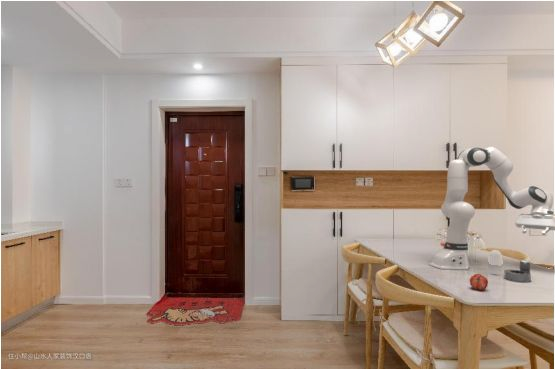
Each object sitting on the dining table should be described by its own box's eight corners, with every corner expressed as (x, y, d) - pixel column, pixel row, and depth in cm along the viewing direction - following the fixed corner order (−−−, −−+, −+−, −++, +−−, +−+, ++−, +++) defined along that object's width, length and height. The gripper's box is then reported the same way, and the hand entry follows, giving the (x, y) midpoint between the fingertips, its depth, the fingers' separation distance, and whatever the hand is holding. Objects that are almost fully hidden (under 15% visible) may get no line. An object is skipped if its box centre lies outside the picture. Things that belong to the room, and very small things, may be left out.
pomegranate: (469, 291, 174) (465, 281, 168) (474, 277, 177) (470, 268, 171) (486, 296, 169) (482, 286, 163) (491, 282, 172) (487, 272, 166)
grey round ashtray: (516, 282, 182) (516, 274, 182) (499, 277, 192) (499, 269, 192) (535, 282, 183) (535, 274, 183) (518, 276, 194) (518, 269, 194)
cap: (524, 277, 192) (524, 262, 192) (517, 275, 197) (517, 260, 197) (532, 277, 193) (532, 262, 193) (525, 275, 197) (525, 260, 197)
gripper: (517, 210, 215) (511, 228, 209) (559, 212, 199) (554, 231, 193) (520, 217, 218) (513, 235, 212) (562, 219, 202) (556, 239, 196)
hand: (533, 233), depth 202 cm, fingers open, 8 cm apart
